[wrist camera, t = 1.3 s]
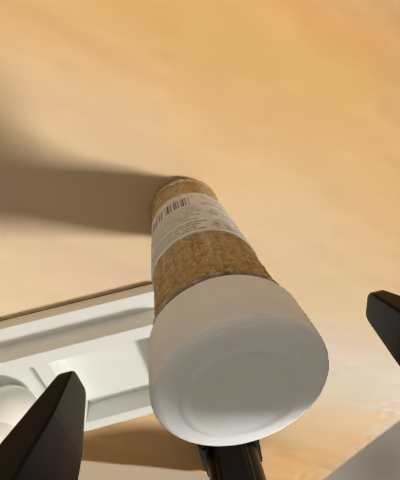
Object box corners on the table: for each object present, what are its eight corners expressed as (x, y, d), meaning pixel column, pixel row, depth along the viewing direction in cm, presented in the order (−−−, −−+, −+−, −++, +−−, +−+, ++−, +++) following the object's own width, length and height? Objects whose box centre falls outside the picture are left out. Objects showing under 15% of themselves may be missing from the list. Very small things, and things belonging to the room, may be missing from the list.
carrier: (192, 385, 26) (196, 413, 24) (-3, 438, 25) (-19, 472, 23) (160, 281, 21) (161, 303, 18) (-90, 343, 20) (-123, 375, 17)
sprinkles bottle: (169, 250, 20) (194, 475, 8) (138, 193, 18) (107, 378, 6) (228, 224, 20) (349, 412, 8) (204, 163, 18) (317, 288, 5)
